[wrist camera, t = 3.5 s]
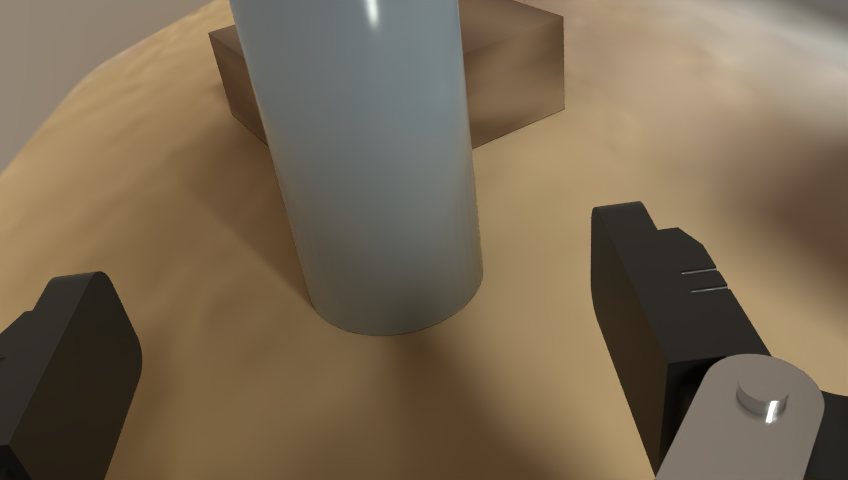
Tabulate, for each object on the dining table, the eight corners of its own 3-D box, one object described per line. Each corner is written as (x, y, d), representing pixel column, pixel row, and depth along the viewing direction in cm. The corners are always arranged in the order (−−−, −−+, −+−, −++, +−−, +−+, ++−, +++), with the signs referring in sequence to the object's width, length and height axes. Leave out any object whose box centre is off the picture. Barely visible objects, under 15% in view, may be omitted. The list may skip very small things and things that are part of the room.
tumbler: (421, 205, 27) (367, -167, 20) (522, 279, 23) (497, -156, 16) (279, 270, 25) (162, -122, 18) (362, 365, 21) (252, -97, 14)
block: (424, 45, 40) (414, -32, 37) (564, 108, 32) (563, 16, 30) (232, 114, 35) (208, 32, 33) (338, 207, 28) (316, 108, 25)
